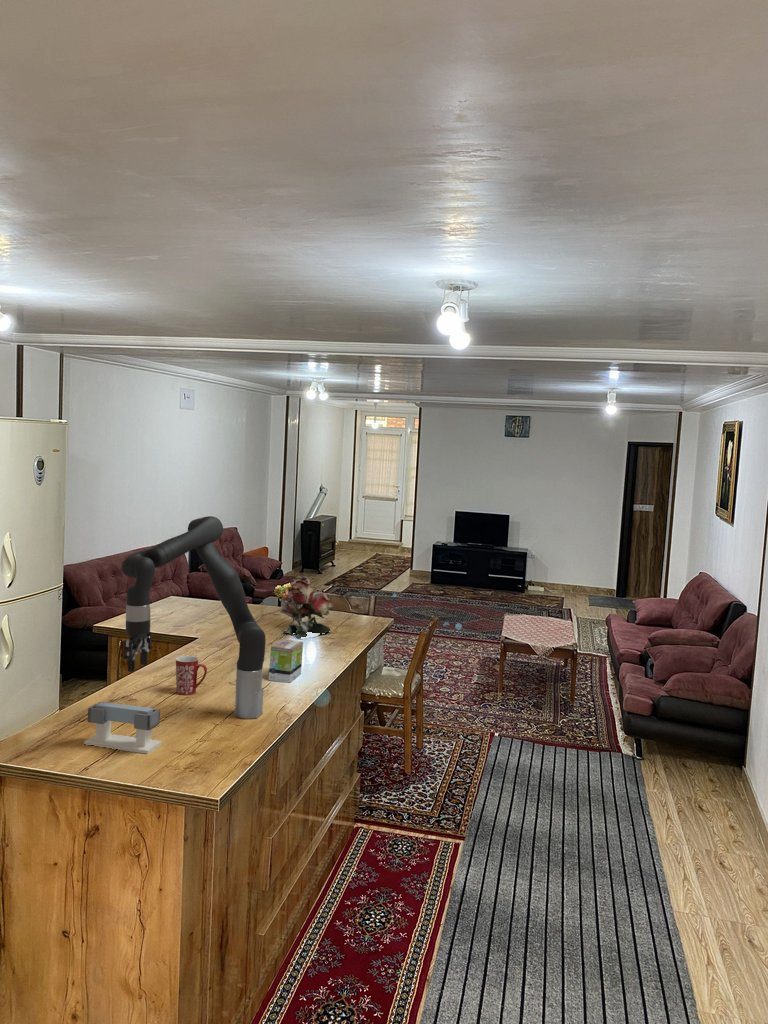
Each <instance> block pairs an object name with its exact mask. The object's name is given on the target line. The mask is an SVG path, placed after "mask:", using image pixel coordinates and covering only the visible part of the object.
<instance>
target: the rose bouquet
mask: <svg viewBox="0 0 768 1024" xmlns="http://www.w3.org/2000/svg"><path fill="white" fill-rule="evenodd" d="M286 592H288V593H287V595H286V596H285V597H283V600H282V601H281V609H280V611H279V613H281V614H284V615H286V616H288V617H290V618H291V619H292V620H291V622H290V624H288V625H287V629H288V630H287V629H286V630H287V631H284V630H283V631H282V632H283V633H289V634H288V635H290V634H293V633H298V634H294V635H295V636H294V635H293V636H292V637H294V638H297V637H298V639H299V638H301V637H306V636H307V634H306V633H307V632H312V633H320V634H322V633H326V632H328V633H330V632H331V628H330V627H329V626H327V625H325V624H323V623H320V622H317V620H316V616H317V617H319V618H321V619H326V620H328V618H326V617H325V616H328V615H330V609H332V608H334V604H333V602H331V601H330V600H331V599H330V598H328V595H327V593H325V592H322V591H316V587H314V586H313V584H312V582H311V580H310V579H309V578H308V576H299V575H298V576H297V577H295V578H293V581H292V582H291V583H290V587H289V586H287V588H286ZM312 615H313V616H312ZM323 615H324V616H323ZM306 617H307V619H306V620H305V621H303V620H302V619H304V618H306ZM295 621H296V623H297V625H296V624H293V623H294V622H295ZM329 631H330V632H329Z"/></svg>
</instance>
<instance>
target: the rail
mask: <svg viewBox="0 0 768 1024" xmlns="http://www.w3.org/2000/svg"><path fill="white" fill-rule="evenodd" d="M99 702H100V703H99ZM99 702H97V703H98V704H97V703H95V704H96V705H95V704H94V705H95V708H99V709H105V710H104V720H108V721H111V722H118V723H123V724H124V723H125V724H131V725H134V714H135V713H137V714H145V715H149V714H151V713H153V709H154V708H152V707H144V706H138V705H129V704H122V703H114V702H107V701H105V702H104V701H99Z"/></svg>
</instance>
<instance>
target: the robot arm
mask: <svg viewBox="0 0 768 1024" xmlns="http://www.w3.org/2000/svg"><path fill="white" fill-rule="evenodd" d="M187 526H188V527H187V531H186V532H184V533H182V534H179V535H176V536H173V537H171V538H168V539H166V540H163V541H161V542H160V543H158V544H156V545H154V546H152V547H151V548H147V549H144V550H140V551H138V552H134V553H132V554H130V555H128V556H127V557H126V558H125V559H124V560H123V561H122V564H121V570H122V573H123V574H124V575H125V576H126V577H128V578H133V579H135V583H134V584H133V585H130V586H128V587H127V589H126V608H125V634H127V635H129V639H127V640H126V639H124V641H123V653H122V654H123V655H122V657H123V660H125V661H127V663H126V664H127V665H126V666H127V672H129V673H130V672H131V673H132V672H135V670H136V656H137V655H140V658H139V660H140V662H139V663H140V665H143V666H144V665H145V666H146V665H148V662H149V661H148V659H149V658H148V657H149V655H148V654H149V653H150V651H151V650H152V645H153V643H152V642H153V641H152V631H151V606H150V604H151V603H150V599H151V597H150V596H151V595H150V593H151V589H152V585H153V580H154V578H155V574H156V569H157V568H158V569H159V568H162V567H164V566H166V565H167V564H170V563H172V562H173V561H174V560H176V559H178V558H179V557H182V556H183V555H185V554H187V553H188V552H190V551H192V550H194V549H195V551H196V552H197V554H198V556H199V557H200V559H201V560H202V563H203V565H204V567H205V569H206V572H207V573H208V575H209V578H210V580H211V582H212V585H213V588H214V590H215V592H216V594H217V596H218V598H219V600H220V602H221V604H222V606H223V607H224V609H225V610H226V612H227V614H228V617H230V620H231V624H232V626H233V629H234V630H233V631H234V633H235V636H236V639H237V642H238V643H239V647H238V648H239V649H238V650H239V651H238V659H237V661H236V676H235V679H236V680H235V697H234V701H235V702H234V716H235V717H237V718H240V719H247V720H248V719H258V718H259V717H260V716H261V715H262V714H263V709H264V708H263V705H264V688H263V687H262V685H263V684H262V683H263V668H264V662H265V653H266V634H265V632H264V630H263V629H262V628H261V627H260V626H259V625H258V623H257V621H256V620H255V618H254V617H253V615H252V613H251V611H250V607H249V606H248V602H247V597H246V593H245V589H244V586H243V584H242V582H241V579H240V577H239V574H238V572H237V570H236V569H235V568H234V567H233V565H231V564H230V563H229V562H228V561H227V560H226V559H225V558H224V557H223V556H222V555H221V554H220V552H219V551H218V550H217V548H216V547H215V544H214V543H215V542H217V541H218V540H219V539H220V538H221V537H222V535H223V532H224V526H223V523H222V522H221V520H220V519H219V517H218V518H217V517H216V516H211V515H209V516H208V515H207V516H203V517H199V518H195V519H193V520H190V522H189V524H188V525H187ZM139 652H140V654H139Z"/></svg>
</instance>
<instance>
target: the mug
mask: <svg viewBox="0 0 768 1024" xmlns="http://www.w3.org/2000/svg"><path fill="white" fill-rule="evenodd" d="M174 660H175V676H176V677H175V680H176V682H175V683H176V684H175V685H176V694H177V695H182V696H190V695H194V694H196V692H197V688H198V687H199V686H200V685H201V684H202V683H203V681H204V680H205V678H206V676H207V672H208V667H207V665H206V664H204V663H199V657H197V656H195V655H182V656H181V655H180V656H177V657H176V658H175V659H174ZM201 667H202V668H203V670H204V672H203V673H204V674H203V676H202V678H201V679H200V680H199V682H198V683H197V680H198V670H199V668H201Z"/></svg>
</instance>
